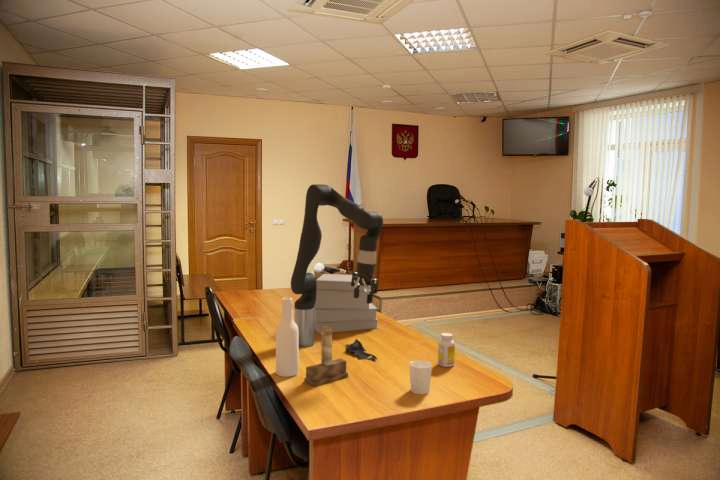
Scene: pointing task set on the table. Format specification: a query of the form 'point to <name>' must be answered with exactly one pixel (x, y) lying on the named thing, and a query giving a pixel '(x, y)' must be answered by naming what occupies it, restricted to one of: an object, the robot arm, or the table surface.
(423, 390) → the white cup
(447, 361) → the supplement bottle
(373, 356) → the decorative bat
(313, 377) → the brown block
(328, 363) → the dowel
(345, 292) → the book stack
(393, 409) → the table surface
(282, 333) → the alcohol
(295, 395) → the table surface
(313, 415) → the table surface
